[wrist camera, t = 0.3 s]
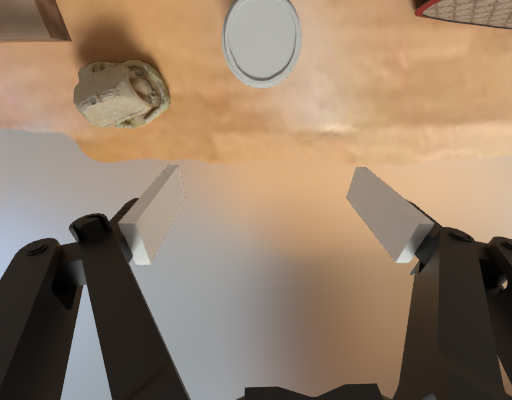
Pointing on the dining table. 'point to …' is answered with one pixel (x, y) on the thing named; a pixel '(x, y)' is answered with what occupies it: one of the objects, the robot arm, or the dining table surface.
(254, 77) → the disposable coffee cup
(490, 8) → the handbag
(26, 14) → the walnut well block
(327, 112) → the dining table surface
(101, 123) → the khaki rounded lumpy piece
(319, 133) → the dining table surface
